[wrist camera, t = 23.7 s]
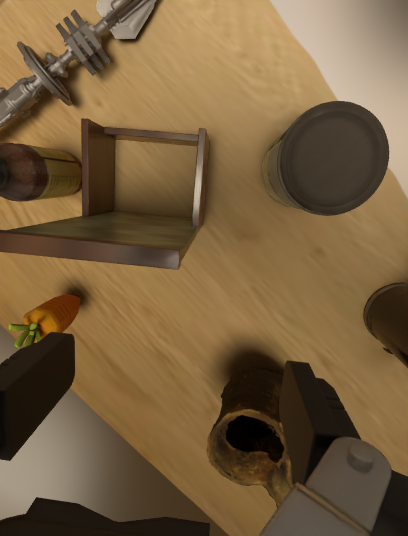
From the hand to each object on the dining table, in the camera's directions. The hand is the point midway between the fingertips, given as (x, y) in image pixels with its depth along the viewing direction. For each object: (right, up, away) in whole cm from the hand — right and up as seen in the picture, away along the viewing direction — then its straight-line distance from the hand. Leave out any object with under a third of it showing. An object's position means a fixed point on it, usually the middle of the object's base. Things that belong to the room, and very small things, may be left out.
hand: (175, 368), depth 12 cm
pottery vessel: (+13, -18, +41) cm, 46 cm away
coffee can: (+14, +17, +31) cm, 39 cm away
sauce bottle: (-19, +17, +34) cm, 42 cm away
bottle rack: (-6, +16, +33) cm, 37 cm away
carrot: (-19, -1, +38) cm, 43 cm away
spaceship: (-18, +28, +31) cm, 46 cm away
